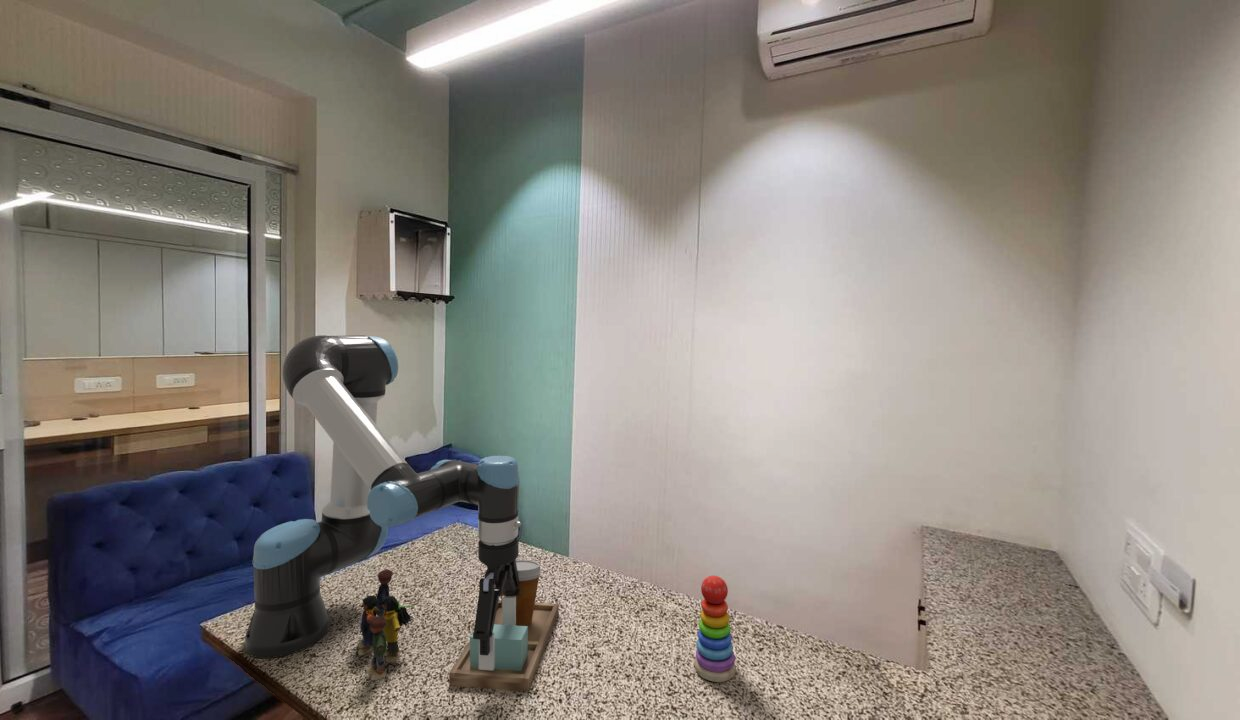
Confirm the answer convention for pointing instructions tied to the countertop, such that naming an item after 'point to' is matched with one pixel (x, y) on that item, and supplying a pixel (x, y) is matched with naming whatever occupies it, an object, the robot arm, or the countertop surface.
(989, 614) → the countertop surface
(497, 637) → the teal rectangular block
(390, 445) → the robot arm
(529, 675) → the divided compartment tray
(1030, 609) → the countertop surface
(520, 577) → the disposable coffee cup
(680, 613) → the countertop surface
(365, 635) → the doll family
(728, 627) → the stacking toy
